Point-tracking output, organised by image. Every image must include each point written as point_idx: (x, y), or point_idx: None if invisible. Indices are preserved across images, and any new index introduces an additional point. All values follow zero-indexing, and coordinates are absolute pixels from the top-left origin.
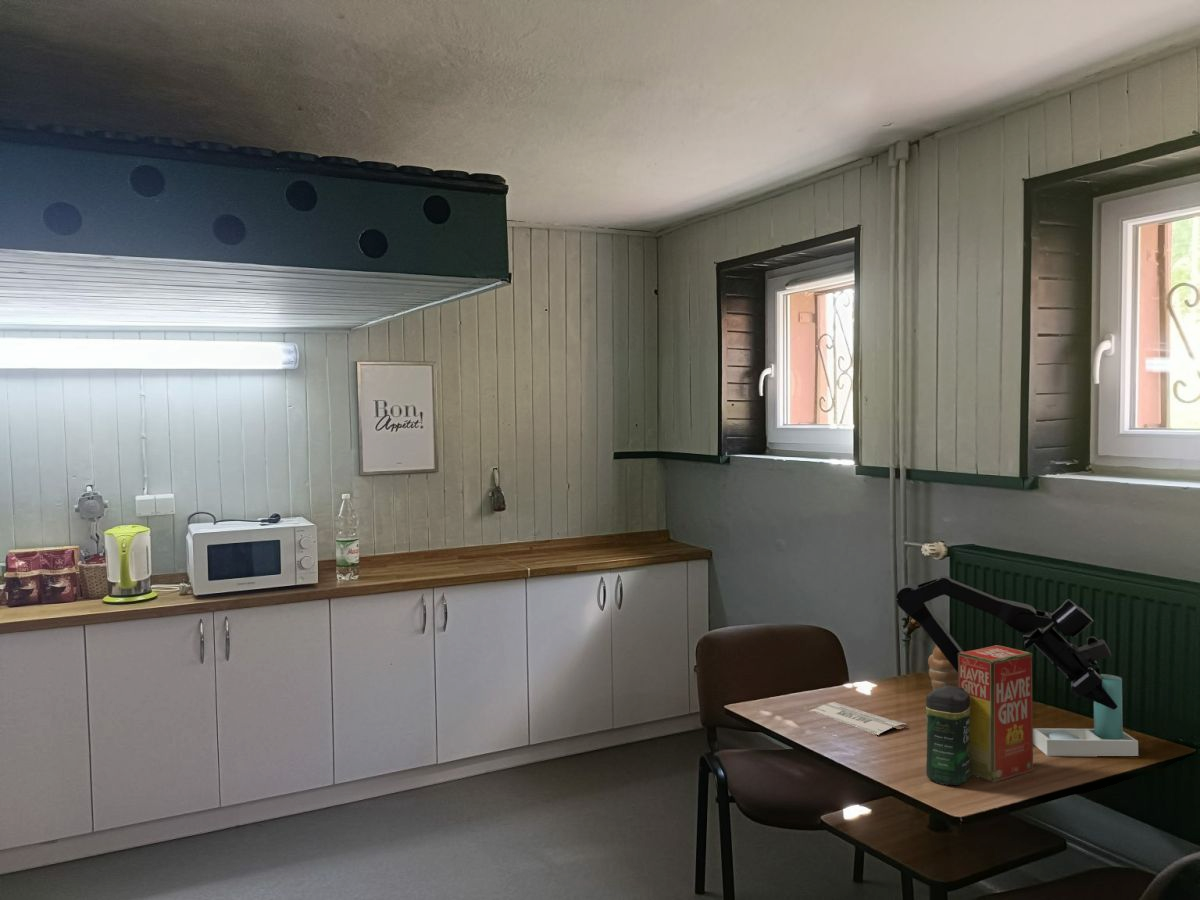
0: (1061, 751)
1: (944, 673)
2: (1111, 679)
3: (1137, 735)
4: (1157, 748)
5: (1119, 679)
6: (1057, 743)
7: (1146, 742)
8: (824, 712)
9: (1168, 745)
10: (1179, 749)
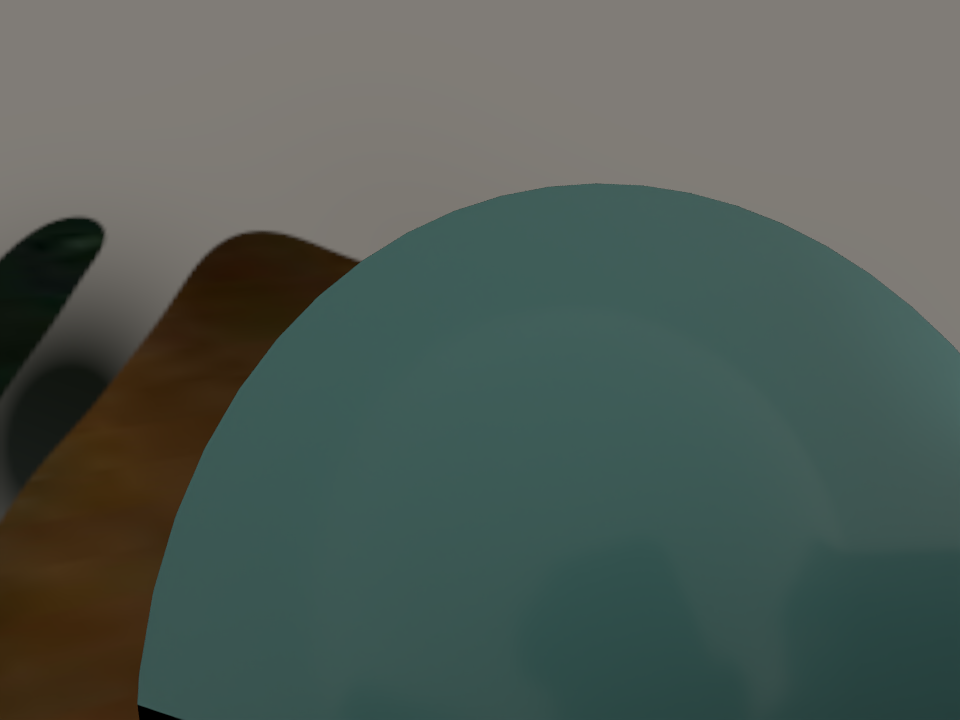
0: None
1: None
2: (867, 418)
3: (106, 420)
4: (300, 312)
5: (686, 227)
6: None
7: (222, 365)
8: None
9: (222, 278)
10: (263, 236)
